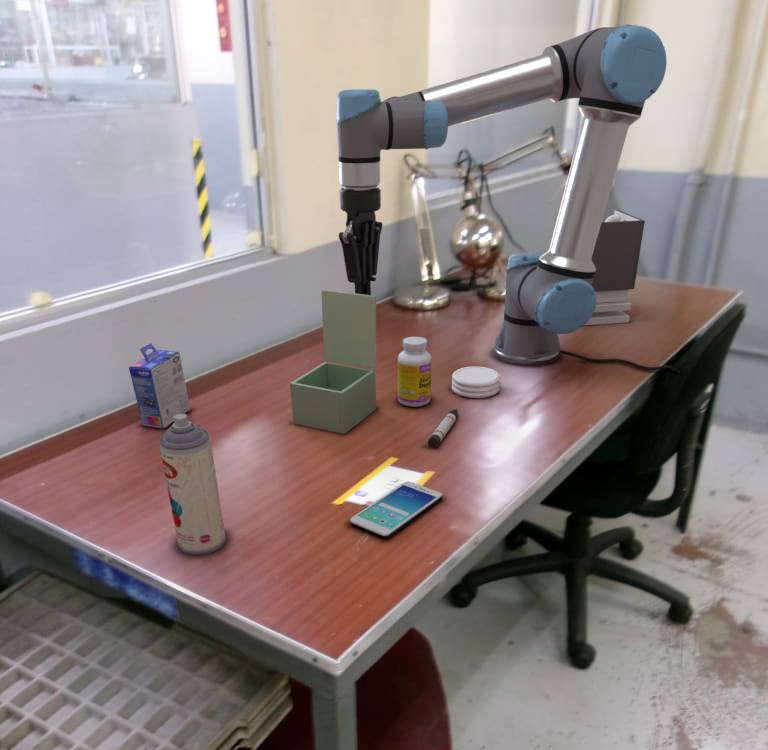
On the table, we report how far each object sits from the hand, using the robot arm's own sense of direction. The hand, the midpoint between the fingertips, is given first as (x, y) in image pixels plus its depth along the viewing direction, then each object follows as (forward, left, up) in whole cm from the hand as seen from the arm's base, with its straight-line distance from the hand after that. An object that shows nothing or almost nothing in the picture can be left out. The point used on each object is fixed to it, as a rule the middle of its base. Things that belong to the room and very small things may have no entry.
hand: (363, 315), depth 148 cm
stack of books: (-28, -72, -17) cm, 79 cm away
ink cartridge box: (+30, +28, -17) cm, 44 cm away
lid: (0, +7, -1) cm, 7 cm away
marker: (-22, +10, -17) cm, 29 cm away
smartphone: (-27, +40, -17) cm, 51 cm away
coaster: (-20, -11, -17) cm, 28 cm away
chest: (0, +13, -17) cm, 21 cm away
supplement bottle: (-11, 0, -17) cm, 20 cm away
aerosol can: (-5, +60, -17) cm, 62 cm away
